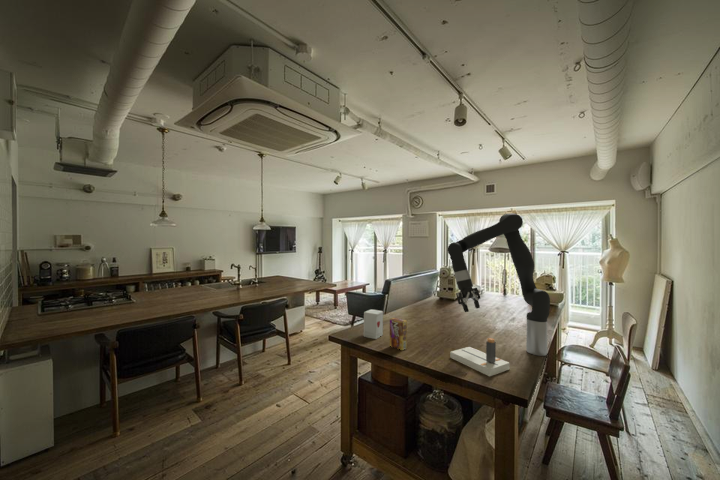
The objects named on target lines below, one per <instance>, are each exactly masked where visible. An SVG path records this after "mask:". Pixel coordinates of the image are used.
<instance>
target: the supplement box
mask: <svg viewBox="0 0 720 480" xmlns="http://www.w3.org/2000/svg"><path fill="white" fill-rule="evenodd" d="M383 333H384V311H383V310H378V309H371V308H370V309H368V310H366V311H364V312H363V337H364V338H368V339H373V340H377V339H379V338H380V336H381V337H382V336H383V335H384V334H383Z"/></svg>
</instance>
